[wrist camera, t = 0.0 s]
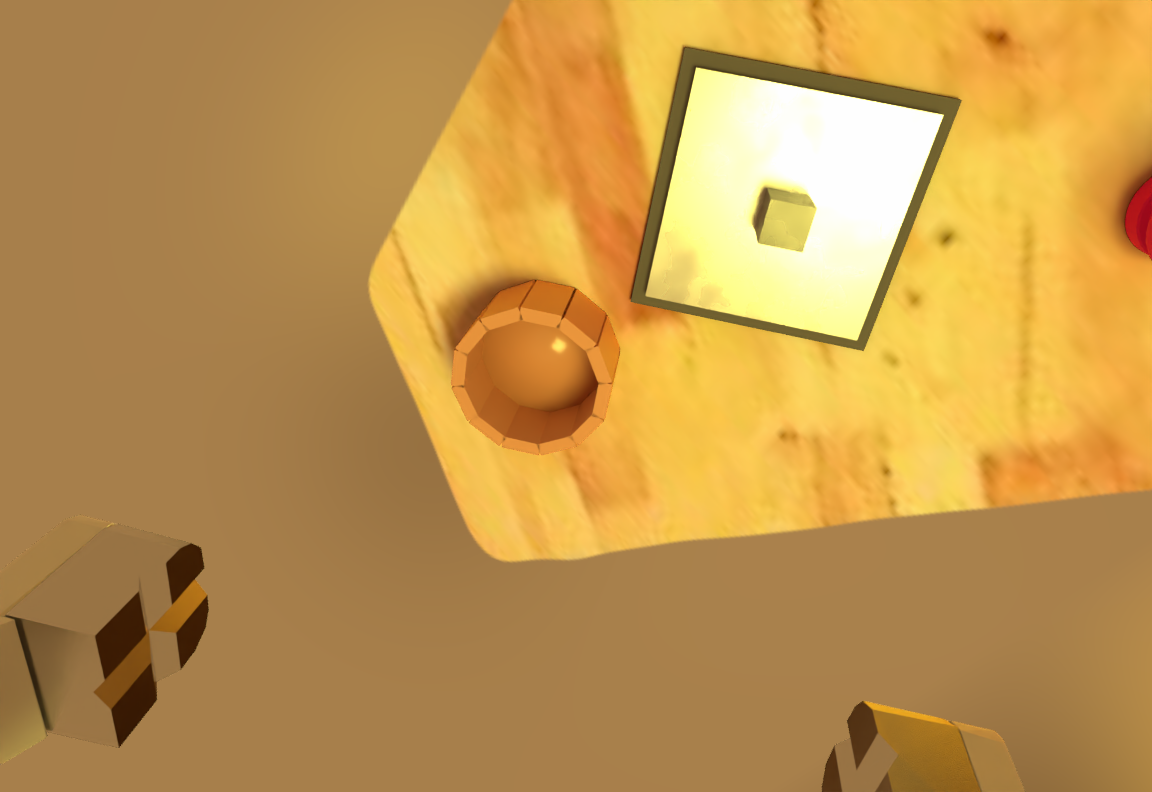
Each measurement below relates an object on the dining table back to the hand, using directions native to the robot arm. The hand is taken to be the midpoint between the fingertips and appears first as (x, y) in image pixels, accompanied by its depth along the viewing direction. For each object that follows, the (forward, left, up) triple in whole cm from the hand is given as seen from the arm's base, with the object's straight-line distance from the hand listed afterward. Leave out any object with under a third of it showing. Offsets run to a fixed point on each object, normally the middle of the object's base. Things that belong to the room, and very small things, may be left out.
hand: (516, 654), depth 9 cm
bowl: (+19, -6, -48) cm, 52 cm away
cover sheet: (+4, +9, -48) cm, 49 cm away
